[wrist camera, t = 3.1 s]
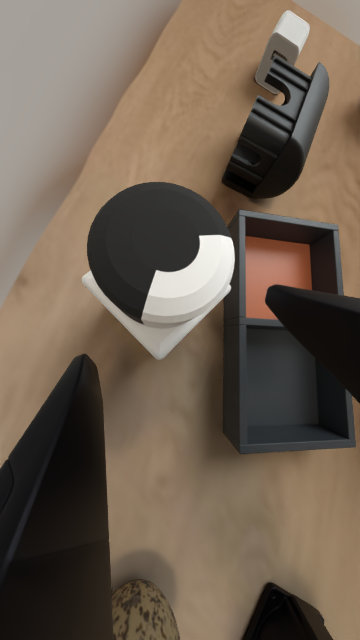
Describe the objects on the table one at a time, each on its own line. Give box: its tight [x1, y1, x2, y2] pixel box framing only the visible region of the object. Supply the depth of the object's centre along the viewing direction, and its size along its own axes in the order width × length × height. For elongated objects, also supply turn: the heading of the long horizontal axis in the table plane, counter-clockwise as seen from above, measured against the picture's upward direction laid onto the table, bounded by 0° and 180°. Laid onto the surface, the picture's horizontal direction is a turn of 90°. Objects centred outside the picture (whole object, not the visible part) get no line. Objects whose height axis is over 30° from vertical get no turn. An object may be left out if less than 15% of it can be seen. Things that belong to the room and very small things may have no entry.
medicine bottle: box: [82, 182, 235, 360], centre depth 12 cm, size 7×7×12 cm
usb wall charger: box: [255, 10, 310, 94], centre depth 23 cm, size 4×7×4 cm, turn 155°
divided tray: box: [223, 209, 356, 454], centre depth 18 cm, size 22×11×4 cm, turn 178°
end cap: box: [222, 55, 329, 198], centre depth 19 cm, size 10×7×7 cm
